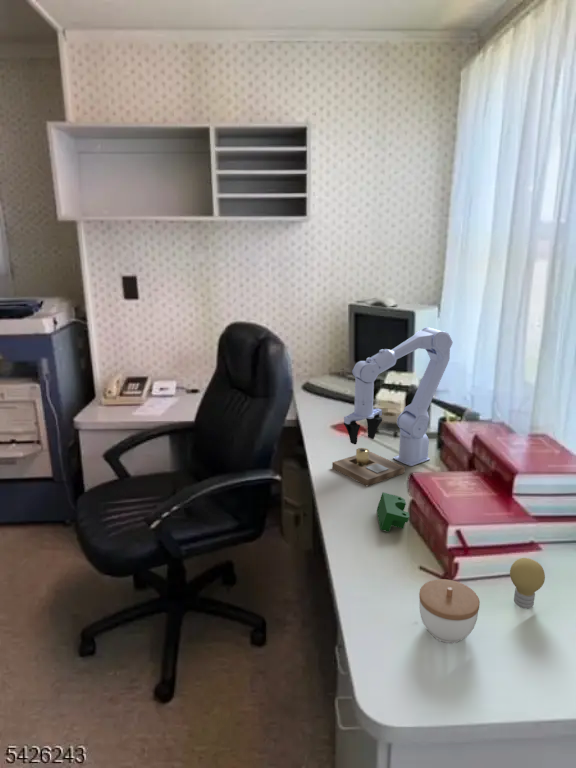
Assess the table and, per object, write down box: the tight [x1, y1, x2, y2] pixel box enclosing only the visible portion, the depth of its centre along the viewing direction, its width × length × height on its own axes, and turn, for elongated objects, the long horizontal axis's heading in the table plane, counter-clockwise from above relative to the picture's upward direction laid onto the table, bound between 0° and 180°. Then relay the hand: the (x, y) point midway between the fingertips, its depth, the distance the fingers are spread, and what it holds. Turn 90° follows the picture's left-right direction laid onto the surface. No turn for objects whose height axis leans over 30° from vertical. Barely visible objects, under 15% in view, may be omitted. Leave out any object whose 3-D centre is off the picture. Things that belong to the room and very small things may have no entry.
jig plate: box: [331, 450, 406, 487], centre depth 174 cm, size 16×16×2 cm
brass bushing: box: [355, 447, 370, 467], centre depth 176 cm, size 4×4×6 cm
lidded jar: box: [418, 578, 480, 644], centre depth 102 cm, size 11×11×9 cm
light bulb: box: [509, 557, 546, 610], centre depth 110 cm, size 6×6×10 cm
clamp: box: [376, 491, 410, 533], centre depth 142 cm, size 12×6×9 cm, turn 170°
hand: (362, 440), depth 175 cm, fingers open, 7 cm apart
